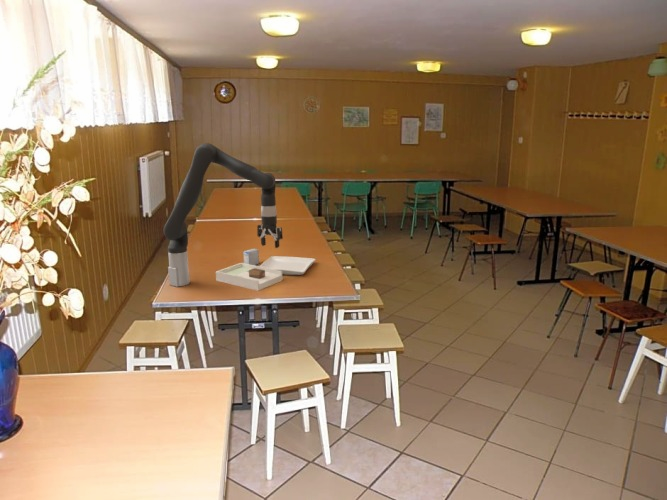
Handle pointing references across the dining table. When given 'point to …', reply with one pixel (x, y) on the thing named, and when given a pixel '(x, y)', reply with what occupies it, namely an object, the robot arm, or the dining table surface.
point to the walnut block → (256, 273)
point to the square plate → (288, 264)
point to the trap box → (241, 276)
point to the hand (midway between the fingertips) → (270, 246)
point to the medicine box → (251, 257)
